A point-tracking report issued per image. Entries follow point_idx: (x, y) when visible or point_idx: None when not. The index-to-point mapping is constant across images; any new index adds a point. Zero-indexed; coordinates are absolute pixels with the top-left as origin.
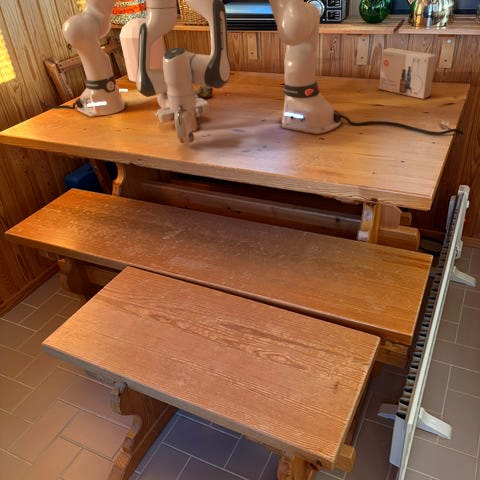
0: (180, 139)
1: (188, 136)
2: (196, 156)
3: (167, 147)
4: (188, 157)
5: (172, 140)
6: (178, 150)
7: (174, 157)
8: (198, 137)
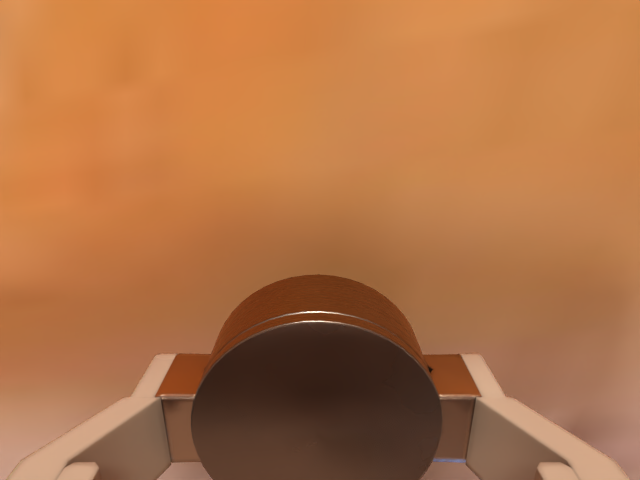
0: (236, 325)
1: (238, 471)
2: (56, 419)
3: (349, 39)
4: (25, 350)
5: (601, 80)
6: (223, 217)
7: (9, 195)
8: (568, 395)
